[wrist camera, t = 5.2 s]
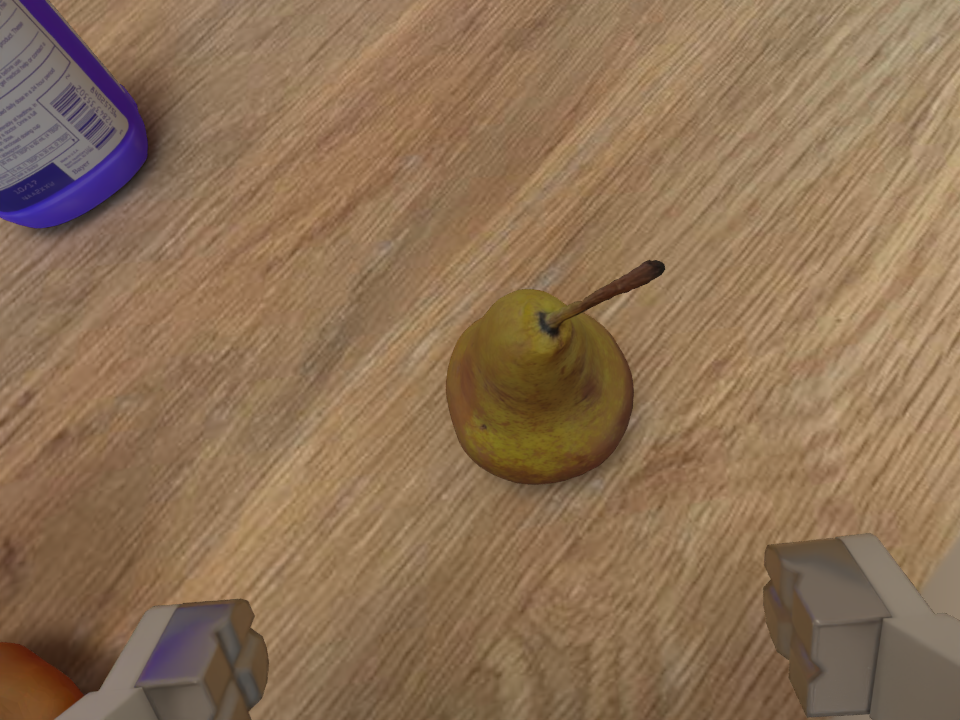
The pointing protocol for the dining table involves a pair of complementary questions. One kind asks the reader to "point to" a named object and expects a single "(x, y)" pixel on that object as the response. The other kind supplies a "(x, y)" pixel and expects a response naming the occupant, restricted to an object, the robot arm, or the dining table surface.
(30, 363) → the dining table surface
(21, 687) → the fruit
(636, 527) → the dining table surface
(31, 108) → the bottle
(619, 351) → the fruit
